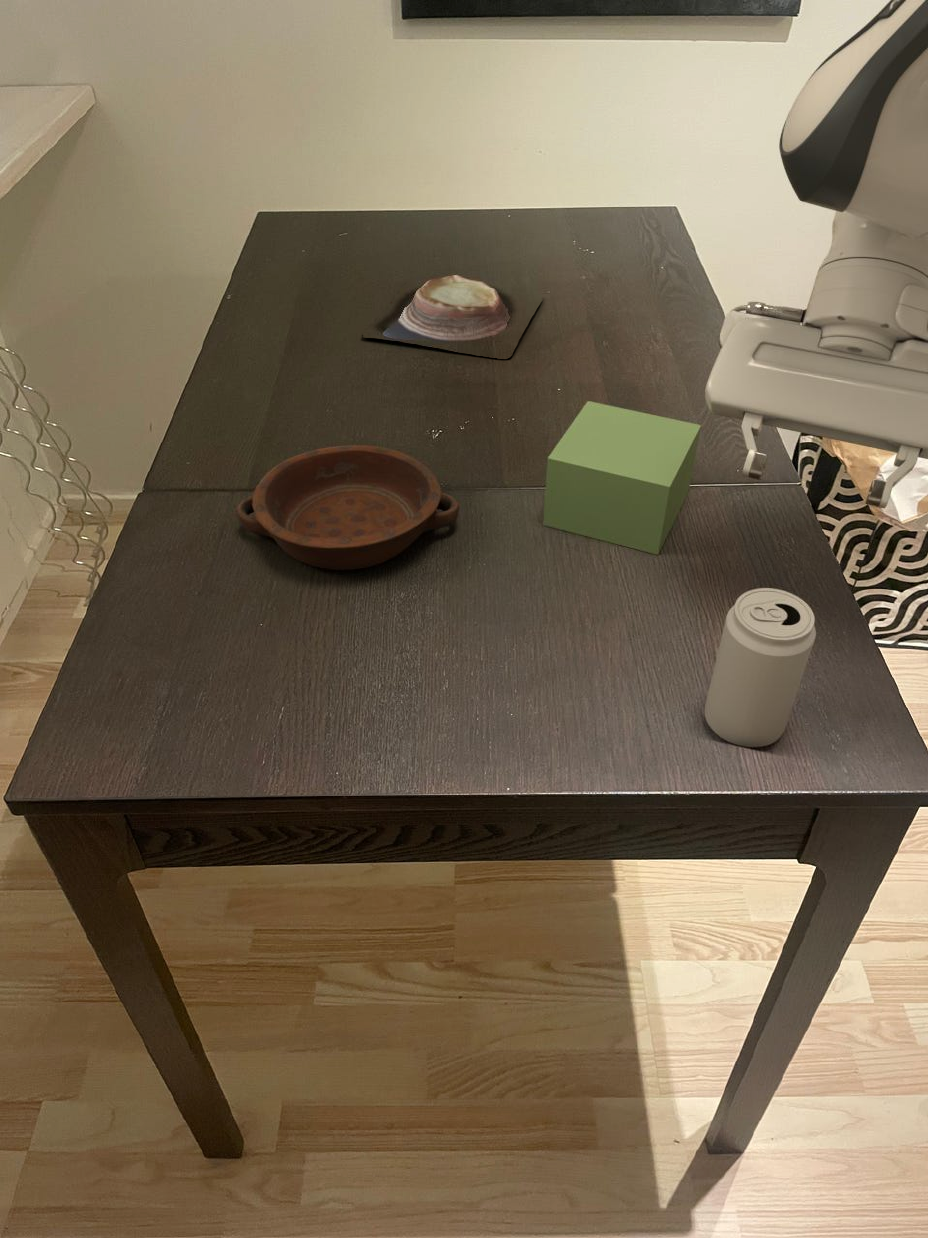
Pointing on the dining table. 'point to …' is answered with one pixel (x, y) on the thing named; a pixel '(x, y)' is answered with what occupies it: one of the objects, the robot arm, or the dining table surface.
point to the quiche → (451, 312)
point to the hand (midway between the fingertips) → (812, 490)
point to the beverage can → (759, 666)
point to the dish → (347, 506)
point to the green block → (620, 476)
